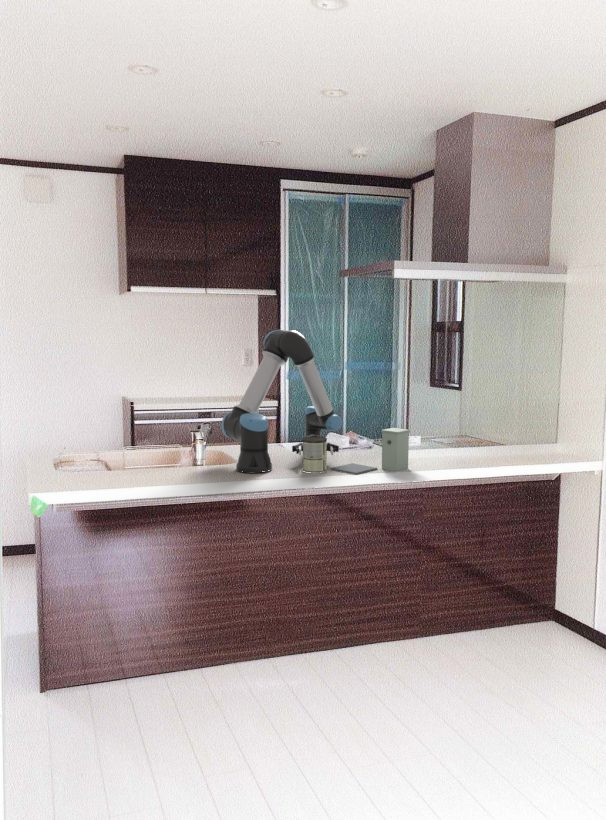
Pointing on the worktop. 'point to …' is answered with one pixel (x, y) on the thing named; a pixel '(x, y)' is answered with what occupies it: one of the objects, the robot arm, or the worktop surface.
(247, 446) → the robot arm
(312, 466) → the coffee can
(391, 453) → the block
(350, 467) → the pad
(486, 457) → the worktop surface
